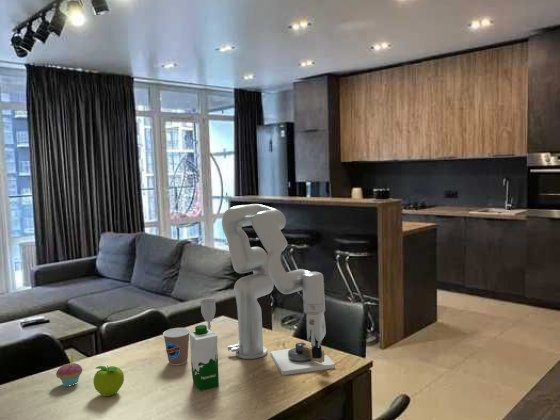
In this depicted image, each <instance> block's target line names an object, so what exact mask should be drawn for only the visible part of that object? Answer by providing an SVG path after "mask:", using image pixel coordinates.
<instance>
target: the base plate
mask: <svg viewBox="0 0 560 420" xmlns="http://www.w3.org/2000/svg"><path fill="white" fill-rule="evenodd" d="M310 346H311V345H310ZM311 347H312V346H311ZM291 349H293V348H292V347H291V348H286V349H278V350H272V351H271V350H270V351H269V352H270V353H269V355H270V357H271V359H272V360H273V362H274V364H275V365H276V368H277V369H278V371H279V373H280V374H281V376H286V375H294V374H295V375H296V374H300V373H302V374H303V373H309V372H314V371H323V370H330V369H335V368H336V364H335V363H334V361H333V360H332V358H330V357H329V356H328V355H327V354H326V352H325V351H324V362H322V363H319V362H316V361H314V360H311V361H308V362H293V361H291V360H289V359H288V351H289V350H291Z"/></svg>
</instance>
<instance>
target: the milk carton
mask: <svg viewBox="0 0 560 420" xmlns="http://www.w3.org/2000/svg"><path fill="white" fill-rule="evenodd" d="M207 326H208V325H206V324H199V325H196V326H195V327H194V331H193V332H189V341H190V342H189V344H190V345H189V346H190V362H191V363H190V366H191V376H192V381H193V382H192V383H193V384H194V386H195V387H196V388H197V390H198V391H205V390H209V389H211V388H217V387H219V386H220V383H219V382H220V381H219V379H220V377H219V356H218V335H217V334H216V332H214V331H212V329H211V328H210V329H211V330H210V329H209V330H208V327H207Z"/></svg>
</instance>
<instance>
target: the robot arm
mask: <svg viewBox="0 0 560 420" xmlns="http://www.w3.org/2000/svg"><path fill="white" fill-rule="evenodd" d="M286 222H287V219H286V216H285V215H284V212H282V211H281V210H279V209H277V208H274V207H270V206H268V205H263V204H259V203H251V204H241V205H234V206H232V207H229V208H228V209H226V210H225V211H224V213H223V215H222V218H221V225H222V231H223V233H224V235H225V237H226V241H227V244H228V251H229V255H230V260H231V264H232V268H233V270H234V271H235V272H236V273H238V274H246V273H250V272H253V274H249V275H246V276H243V277H240V278H239V279H237V281H236V282H235V283H234V286H233V293H234V297H235V302H236V307H237V308H236V309H237V326H238V327H237V328H238V341H237V343H235V344H233V345H232V344H230V345H227V351H228V352H229V351H231V352H235V356H237V358H240V359H244V360H255V359H260V358H262V357H264V356H266V355H267V353H268V349H267V347H265V346H264V343H263V341H264V339H263V318H262V316H263V315H262V308H261V306H260V305H261V304H259V302H258V299H259V298H261V297H264V296H266V295H269V294H271V293H272V291H273V290H274V286H275V288H276V289H277V291H278V292H280V293H281V294H284V295H290V294H293V293H296V292H300V291H302V297H303V300H302V301H303V312H304V313H305V314H306V336H307V337H306V339H307V341H308V342H310V343H311V344H310V346H312V358H318V359H320V358H321V357H322V350H323V349H322V341H323V339H324V337H326V335H327V334H326V333H327V330H326V319H325V312H326V302H325V282H324V281H325V280H324V274H323V273H321V272H318V271H310V270H307V269H304V268H299V269H298V268H297V269H295V270H291V271H286V270H285V268H284V266H283V264H282V260H281V254H282V252H284V250H285V249H286V248H287V246H288V241H287V239H286V236H285V235H284V234H283V232H282V231H281V230H283V229H284V228H285V226H286V224H287V223H286ZM249 226H252V228H253V230H254V232H255V233H256V235H257V237H258V239H259V240H260V242H261V244H262V246H263V248H264V249H265V250H264V249H263V248H262V247H260V246H252V247H251V243H250V240H249V236H248V235H247V233H246V232H245V231H244V229H242V228H243V227H249Z"/></svg>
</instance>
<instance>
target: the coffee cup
mask: <svg viewBox="0 0 560 420" xmlns="http://www.w3.org/2000/svg"><path fill="white" fill-rule="evenodd" d="M190 331H191V330H190V329H189V328H186V327H175V328H169V329H167V330H165V331H164V332H162V335H163V337H164V342H165V343H164V344H165V351H166V354H167V360H168V363H169V365H172V366H179V365H184V364H186V363H187V362H188V359H189V358H188V357H189V354H188V353H189V344H190V342H189V341H190V333H191V332H190Z"/></svg>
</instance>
